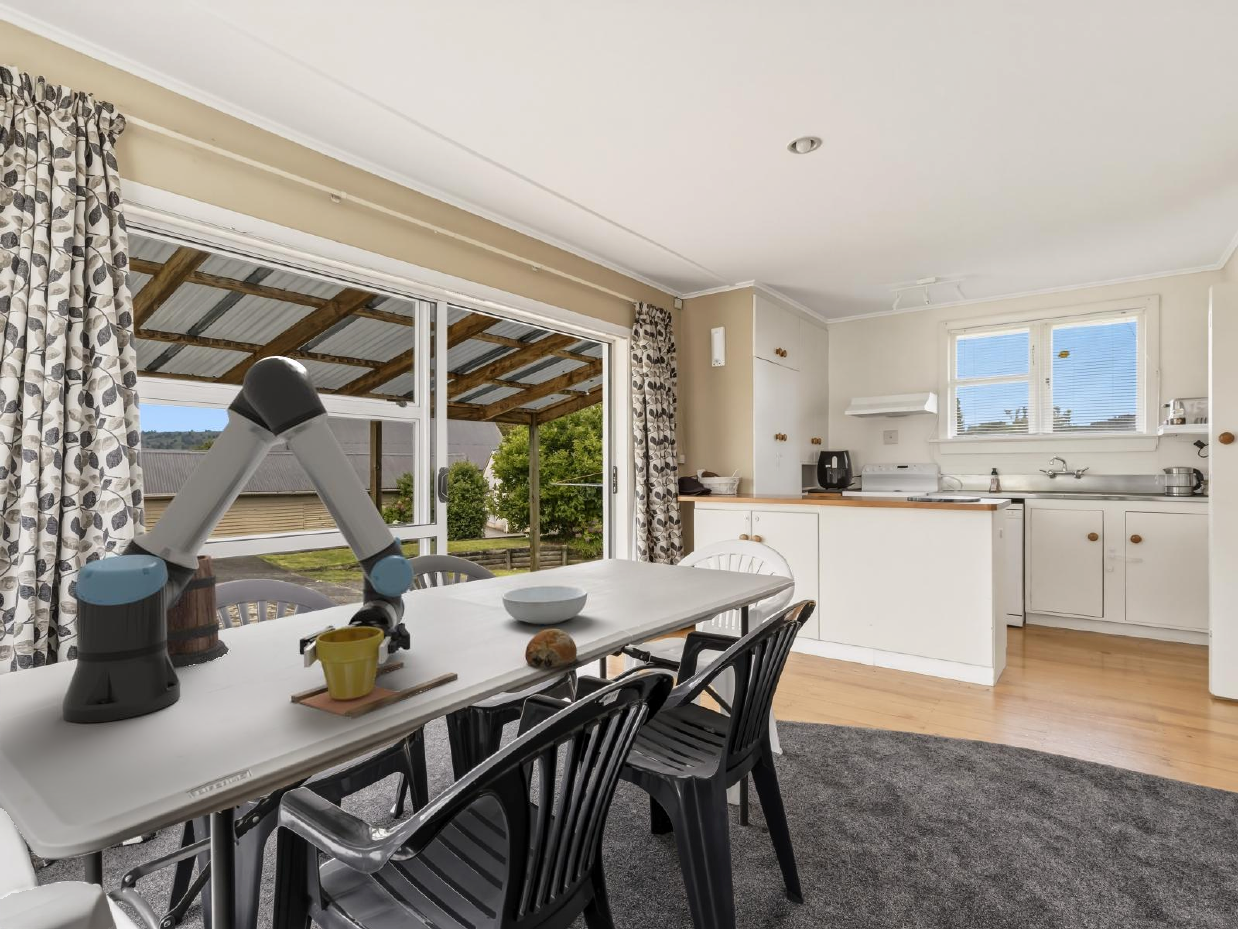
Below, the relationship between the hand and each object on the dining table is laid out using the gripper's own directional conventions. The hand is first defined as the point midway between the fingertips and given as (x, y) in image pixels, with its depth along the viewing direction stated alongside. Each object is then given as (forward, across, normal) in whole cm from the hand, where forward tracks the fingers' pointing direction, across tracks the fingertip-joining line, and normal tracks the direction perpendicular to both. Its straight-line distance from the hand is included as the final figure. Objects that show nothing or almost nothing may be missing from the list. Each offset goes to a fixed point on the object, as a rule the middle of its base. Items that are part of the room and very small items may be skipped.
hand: (344, 657), depth 106 cm
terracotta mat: (-4, 0, -8) cm, 9 cm away
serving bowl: (-54, -34, -8) cm, 65 cm away
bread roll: (-20, -34, -8) cm, 40 cm away
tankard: (-38, +42, -8) cm, 57 cm away
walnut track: (-8, -4, -8) cm, 12 cm away
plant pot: (-4, 0, -7) cm, 8 cm away
